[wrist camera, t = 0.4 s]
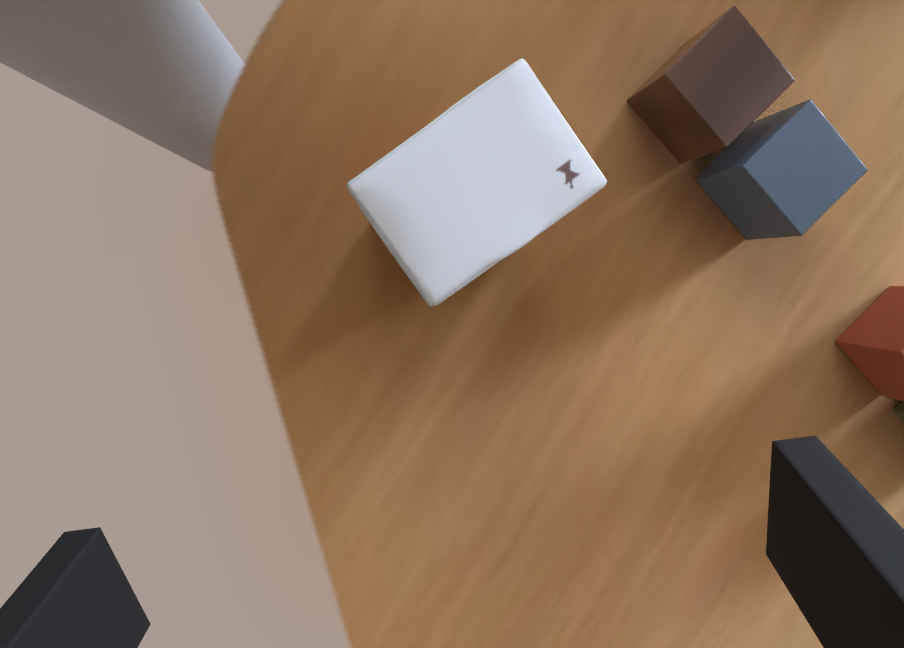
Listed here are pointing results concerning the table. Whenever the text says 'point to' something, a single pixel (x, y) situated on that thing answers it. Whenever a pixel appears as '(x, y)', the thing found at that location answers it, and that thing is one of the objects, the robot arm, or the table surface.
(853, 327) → the block
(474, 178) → the cosmetic box
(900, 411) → the block
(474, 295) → the table surface
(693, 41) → the block
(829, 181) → the block
